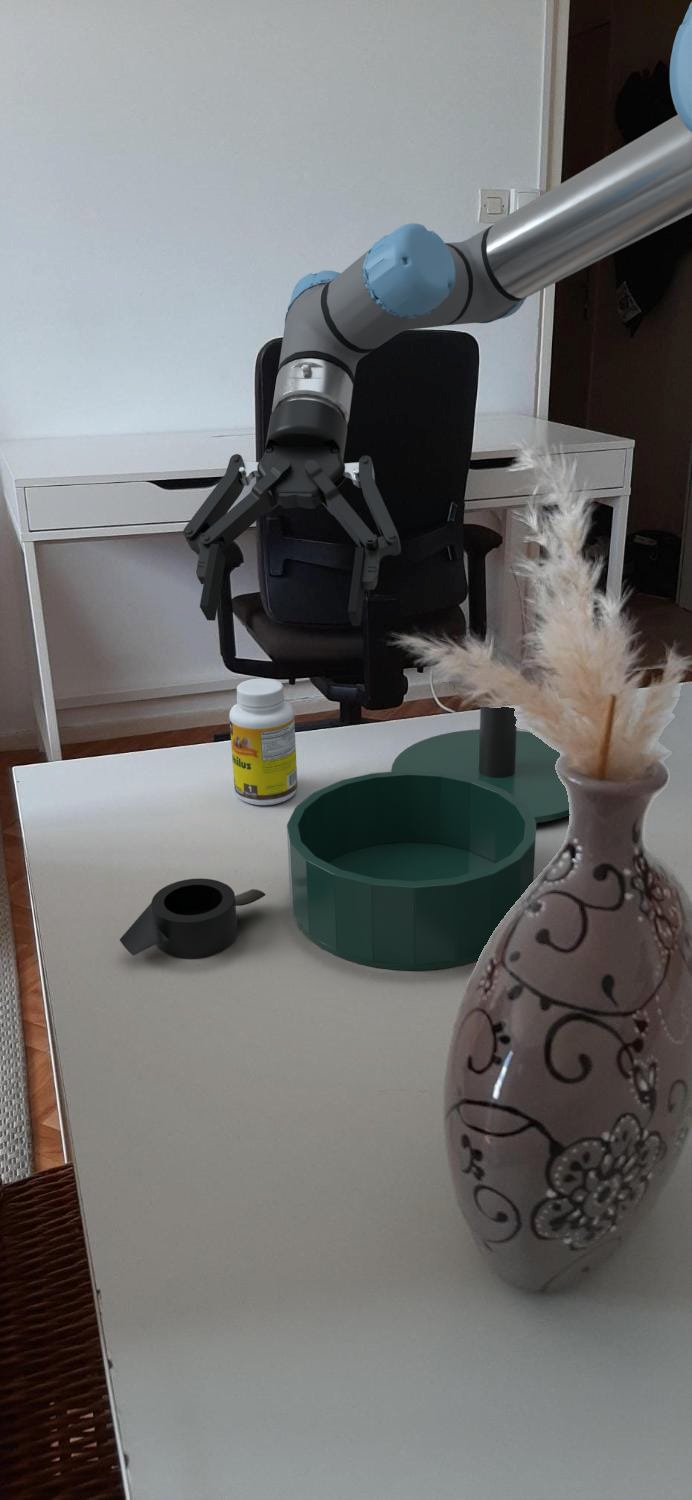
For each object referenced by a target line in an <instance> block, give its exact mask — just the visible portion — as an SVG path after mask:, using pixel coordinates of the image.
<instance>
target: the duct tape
mask: <svg viewBox="0 0 692 1500" xmlns="http://www.w3.org/2000/svg"><path fill="white" fill-rule="evenodd" d="M266 895H267V894H266V893H265V892H264V891H262V890H260V889H256V888H251V889H249V890H247V891H245V892H242V893H239V894H236V895H235V892H234V890H233V889H232V887H231V886H230V885H228V884H227V883H225V882H222V881H219V880H216V879H211V878H188V879H183V880H179V881H175V882H173V883H169V884H167V885H165V886H164V887H162V888H161V889H159V890H158V891H157V892H156V893H155V894H154V895H153V897H152V898H151V902H150V903H149V905H148V906H147V907H145V909H144V910H143V912H142V913H141V914H140V915H139V916H138V917H137V918H136V920H135V921H134V922H133V923H132V924H131V926H130V927H128V929H127V930H126V931H125V932H124V934H122V936H121V937H120V938H119V942H120V943H121V945H122V946H123V947H124V948H125V950H126V951H127V952H128V953H130V955H132V956H133V957H135V956H136V955H138V954H140V953H141V952H143V951H145V950H147V949H149V948H151V947H155V946H156V947H157V948H158V949H159V950H160V951H161V952H162V953H164V954H166V955H168V956H170V957H174V958H179V959H189V960H190V959H192V960H193V959H202V958H207V957H211V956H214V955H217V954H219V953H221V952H223V951H225V950H226V949H228V948H229V947H231V946H232V945H233V944H234V943H235V941H236V940H237V938H238V934H239V933H238V932H239V931H238V920H237V907H241V906H246V905H250V904H252V903H254V902H256V901H259V900H260V899H261V898H264V897H265V896H266Z"/></svg>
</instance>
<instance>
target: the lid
mask: <svg viewBox="0 0 692 1500" xmlns="http://www.w3.org/2000/svg"><path fill="white" fill-rule="evenodd" d="M514 711H515V709H514V708H509V707H501V708H489V707H480V709H479V729H477V728H476V729H467V730H466V729H465V730H458V731H451V732H447V733H441V734H438V735H434V736H431V737H428V738H425V739H422V740H419V741H417V742H416V743H414V744H411V745H410V746H409V747H407V748H405V749H404V750H403V751H402V752H400V753H399V754H398V755H397V756H396V757H395V759H394V760H393V763H392V765H391V770H390V772H395V771H408V770H411V771H430V772H443V773H449V774H454V775H459V776H464V777H469V778H474V779H478V780H481V781H483V782H486V783H488V784H491V785H494V786H496V787H499V788H501V789H504V790H506V791H507V792H508V793H510V794H511V795H513V796H514V797H516V798H517V799H518V800H520V801H521V802H523V803H524V804H525V805H526V806H527V808H528V809H529V811H530V813H531V814H532V816H533V817H534V819H535V821H536V824H539V823H545V822H550V821H554V820H559V819H562V818H566V817H568V816H570V815H569V802H568V795H567V791H566V788H565V786H564V785H563V784H562V782H561V781H560V779H559V778H558V775H557V773H556V770H555V764H556V761H557V759H558V758H559V757H560V753H559V752H557V751H556V750H554V749H552V748H551V747H549V746H548V745H547V744H545V743H544V742H543V741H542V740H541V739H539V738H538V737H536V736H535V735H533V734H532V733H533V732H531V733H530V731H525V730H518V726H517V727H516V726H515V724H516V721H517V722H518V718H517V719H516V717H515V716H514Z"/></svg>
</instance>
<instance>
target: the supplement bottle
mask: <svg viewBox="0 0 692 1500" xmlns="http://www.w3.org/2000/svg"><path fill="white" fill-rule="evenodd" d="M236 701H237V703H236V704H234V705H233V706H232V707H231V709H230V711H229V714H228V715H229V717H228V718H229V731H230V745H231V746H230V747H231V759H232V773H233V774H232V775H233V785H234V793H235V795H236V796H237V797H238V798H239V799H240V800H241V801H243V802H245V803H247V804H251V805H255V806H272V805H277V804H281V803H283V802H286V801H288V800H290V799H291V798H292V797H293V796H294V795H295V794H296V792H297V791H298V768H297V745H296V727H295V726H296V725H295V724H296V723H295V711H294V707H293V706H292V705H291V704H290V703H289V702H287V701H286V700H285V694H284V685H283V683H282V682H281V681H279V680H276V679H273V678H266V677H265V678H252V679H247V680H244V681H242V682H240V683H239V684H238V685H237V686H236Z"/></svg>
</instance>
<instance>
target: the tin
mask: <svg viewBox="0 0 692 1500" xmlns="http://www.w3.org/2000/svg"><path fill="white" fill-rule="evenodd" d="M286 836H287V856H288V857H287V858H288V877H289V896H290V901H291V911H292V916H293V918H294V921H295V923H296V925H297V927H298V928H299V929H300V931H301V932H302V933H303V935H305V937H306V938H308V939H309V940H310V941H311V942H313V944H315V945H316V946H318V947H319V948H321V949H323V950H324V951H327V952H328V953H330V954H332V955H334V956H337V957H339V958H342V959H344V960H346V961H349V962H352V963H356V964H360V965H363V966H364V965H365V966H368V967H373V968H378V969H379V968H380V969H387V970H393V971H394V970H395V971H396V970H397V971H430V970H432V971H433V970H439V969H447V968H453V967H458V966H463V965H467V964H470V963H472V962H473V963H475V962H478V961H479V960H478V958H479V956H480V954H481V952H482V950H483V948H484V946H485V945H486V944H487V942H488V940H489V938H490V936H491V935H492V933H493V931H494V930H495V928H496V927H497V926H498V924H499V923H500V921H501V920H502V919H503V918H504V916H505V915H506V913H507V912H508V911H509V910H510V908H511V907H512V906H513V905H514V904H515V902H516V901H517V900H518V899H519V898H520V897H521V895H522V894H523V893H524V892H525V890H526V889H527V888H528V886H529V885H530V884H531V883H532V882H533V881H534V880H535V860H536V843H537V841H536V839H537V823H536V821H535V819H534V817H533V816H532V814H531V813H530V811H529V809H528V808H527V806H526V805H525V804H524V803H523V802H521V801H520V800H518V799H517V798H516V797H514V796H513V795H511V794H510V793H508V792H507V791H506V790H504V789H501V788H499V787H496V786H494V785H491V784H488V783H486V782H483V781H481V780H478V779H474V778H469V777H464V776H459V775H454V774H449V773H443V772H430V771H411V770H408V771H395V772H391V771H385V772H383V771H382V772H372V773H367V774H362V775H359V776H353V777H349V778H346V779H341V780H339V781H337V782H335V783H332V784H330V785H327V786H324V787H323V788H320V789H318V790H316V791H314V792H313V793H312V794H310V795H309V796H307V797H306V798H305V799H303V800H302V801H301V802H300V803H299V804H297V806H295V808H294V809H293V812H292V813H291V815H290V817H289V820H288V821H287V824H286ZM534 882H535V881H534Z"/></svg>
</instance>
